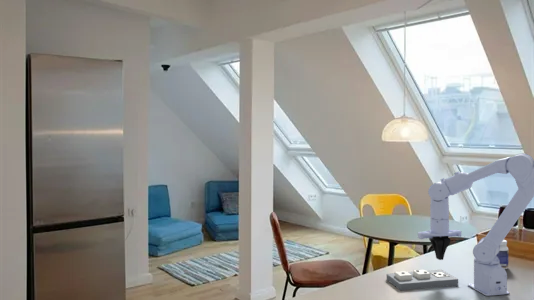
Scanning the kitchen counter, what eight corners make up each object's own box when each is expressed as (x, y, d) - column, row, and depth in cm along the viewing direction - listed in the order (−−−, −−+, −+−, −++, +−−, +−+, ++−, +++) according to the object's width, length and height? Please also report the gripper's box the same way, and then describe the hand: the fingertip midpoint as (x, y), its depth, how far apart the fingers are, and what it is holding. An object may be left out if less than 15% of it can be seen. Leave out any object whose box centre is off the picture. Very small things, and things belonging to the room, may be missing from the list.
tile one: (411, 280, 144) (411, 274, 144) (400, 281, 144) (400, 275, 144) (405, 276, 148) (405, 270, 148) (394, 277, 148) (394, 271, 148)
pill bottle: (511, 269, 158) (511, 242, 157) (495, 270, 158) (495, 242, 157) (503, 264, 163) (503, 238, 163) (487, 265, 164) (487, 238, 163)
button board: (458, 285, 144) (458, 279, 144) (400, 290, 141) (400, 283, 141) (441, 275, 154) (441, 269, 154) (386, 279, 150) (386, 273, 150)
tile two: (430, 279, 145) (430, 272, 145) (418, 280, 145) (418, 273, 145) (424, 275, 149) (424, 268, 149) (413, 276, 149) (412, 269, 149)
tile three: (448, 281, 147) (448, 275, 146) (437, 282, 146) (437, 276, 146) (442, 277, 150) (442, 271, 150) (431, 278, 150) (431, 272, 150)
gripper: (452, 214, 152) (452, 254, 153) (413, 217, 150) (413, 257, 151) (465, 219, 145) (465, 260, 146) (423, 221, 143) (424, 263, 144)
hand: (439, 258), depth 148 cm, fingers closed
